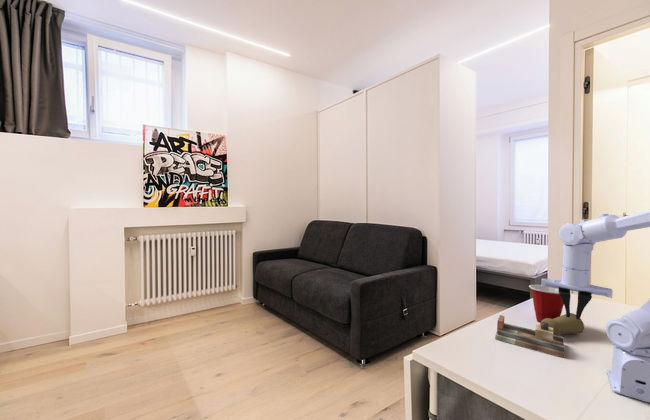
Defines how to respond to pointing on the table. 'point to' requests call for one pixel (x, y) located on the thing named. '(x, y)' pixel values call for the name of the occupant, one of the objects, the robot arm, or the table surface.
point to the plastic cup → (546, 302)
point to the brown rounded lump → (565, 324)
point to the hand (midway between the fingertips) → (572, 317)
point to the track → (528, 338)
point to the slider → (544, 332)
